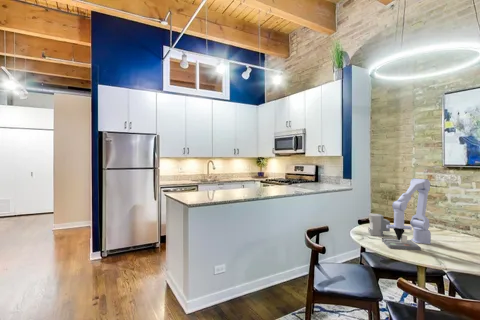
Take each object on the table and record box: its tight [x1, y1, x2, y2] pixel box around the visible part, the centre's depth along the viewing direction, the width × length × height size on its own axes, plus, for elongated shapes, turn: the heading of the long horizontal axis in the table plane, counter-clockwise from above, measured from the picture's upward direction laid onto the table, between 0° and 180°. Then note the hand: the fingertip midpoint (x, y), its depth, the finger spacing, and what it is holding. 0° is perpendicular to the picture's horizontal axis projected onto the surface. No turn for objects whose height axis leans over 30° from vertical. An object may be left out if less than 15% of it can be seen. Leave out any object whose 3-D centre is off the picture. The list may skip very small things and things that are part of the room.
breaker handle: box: [400, 234, 408, 243], centre depth 169 cm, size 3×3×5 cm
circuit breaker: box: [367, 213, 391, 237], centre depth 193 cm, size 8×14×15 cm, turn 78°
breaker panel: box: [381, 237, 422, 251], centre depth 170 cm, size 18×14×3 cm
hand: (398, 239), depth 170 cm, fingers closed
